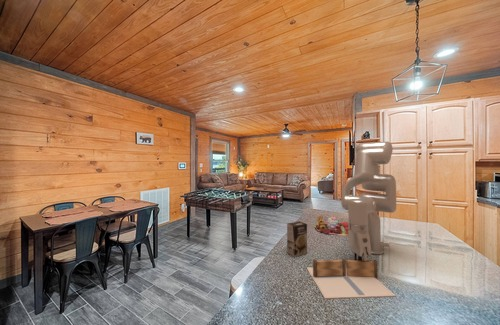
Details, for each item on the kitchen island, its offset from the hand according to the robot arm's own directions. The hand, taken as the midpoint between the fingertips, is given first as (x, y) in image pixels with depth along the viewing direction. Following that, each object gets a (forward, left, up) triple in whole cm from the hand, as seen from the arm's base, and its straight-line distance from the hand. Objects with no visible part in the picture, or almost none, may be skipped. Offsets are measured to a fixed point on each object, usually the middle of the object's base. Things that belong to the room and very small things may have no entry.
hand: (358, 268), depth 84 cm
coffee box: (+22, -19, -2) cm, 29 cm away
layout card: (+9, +6, -2) cm, 11 cm away
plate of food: (-14, -54, -2) cm, 56 cm away
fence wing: (+1, +3, -1) cm, 4 cm away
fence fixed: (+14, +3, -1) cm, 15 cm away
